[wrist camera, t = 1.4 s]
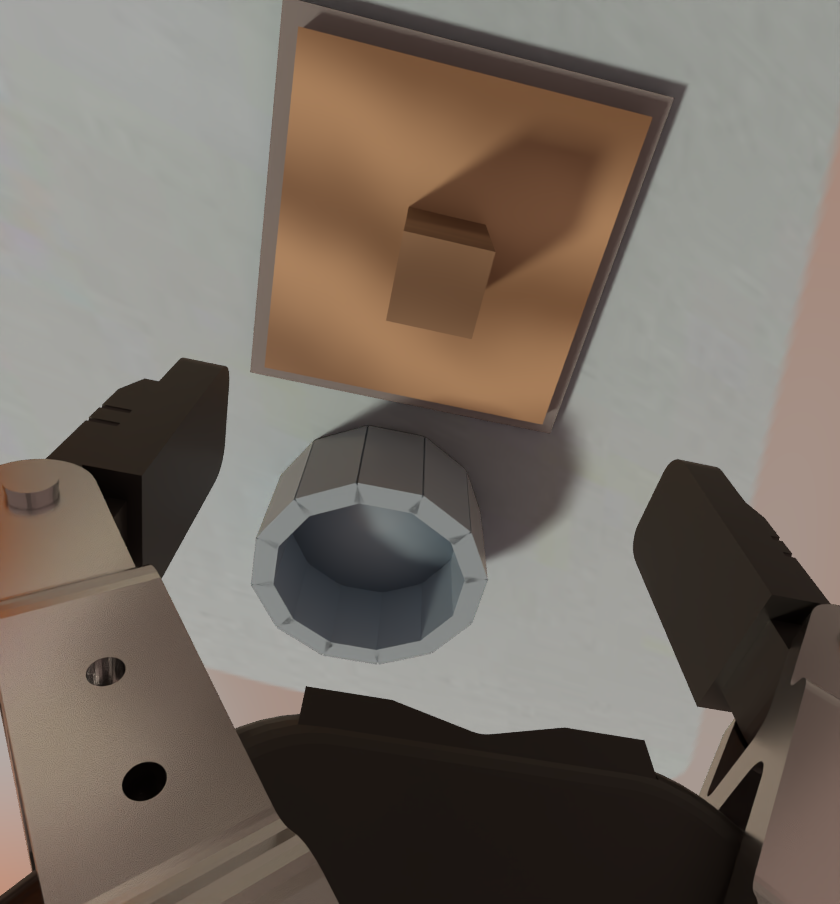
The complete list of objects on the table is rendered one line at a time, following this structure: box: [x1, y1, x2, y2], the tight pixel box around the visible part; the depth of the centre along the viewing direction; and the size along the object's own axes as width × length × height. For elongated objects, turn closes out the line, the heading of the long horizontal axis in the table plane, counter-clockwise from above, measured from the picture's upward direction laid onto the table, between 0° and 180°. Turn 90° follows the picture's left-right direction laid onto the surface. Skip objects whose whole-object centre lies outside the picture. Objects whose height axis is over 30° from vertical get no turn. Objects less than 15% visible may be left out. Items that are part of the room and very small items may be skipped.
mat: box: [250, 0, 674, 433], centre depth 26 cm, size 14×14×1 cm
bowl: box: [251, 426, 488, 664], centre depth 31 cm, size 10×10×5 cm
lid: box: [264, 26, 653, 424], centre depth 23 cm, size 12×12×5 cm
